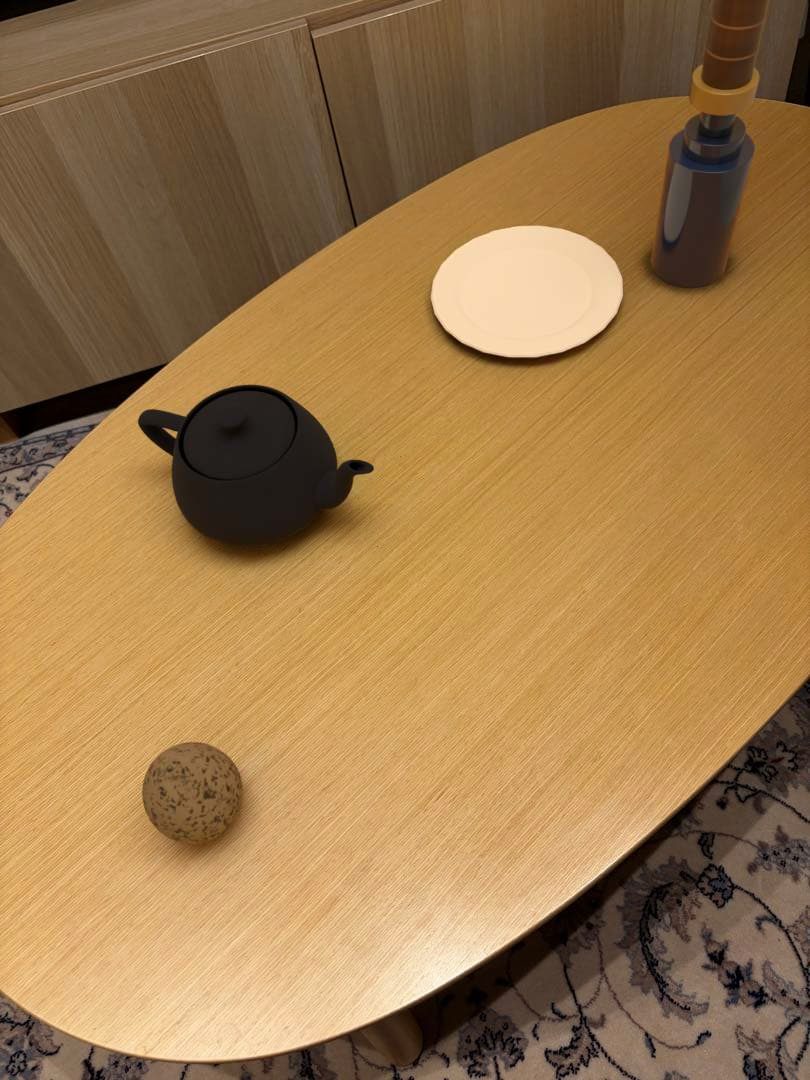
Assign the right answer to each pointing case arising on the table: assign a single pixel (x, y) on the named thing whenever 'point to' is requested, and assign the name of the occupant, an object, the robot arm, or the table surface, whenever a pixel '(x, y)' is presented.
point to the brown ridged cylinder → (733, 42)
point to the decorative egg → (192, 792)
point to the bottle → (704, 186)
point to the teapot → (251, 465)
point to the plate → (527, 292)
